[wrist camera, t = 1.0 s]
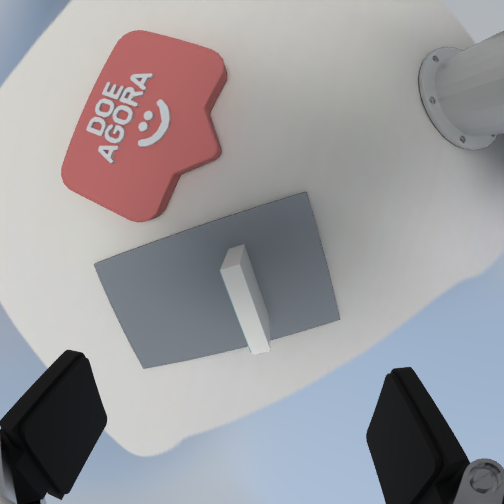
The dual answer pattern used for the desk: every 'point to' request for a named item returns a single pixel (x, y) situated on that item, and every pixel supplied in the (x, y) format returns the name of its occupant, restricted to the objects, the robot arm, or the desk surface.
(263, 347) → the tile
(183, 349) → the tile mat
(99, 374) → the desk surface
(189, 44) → the plaque
